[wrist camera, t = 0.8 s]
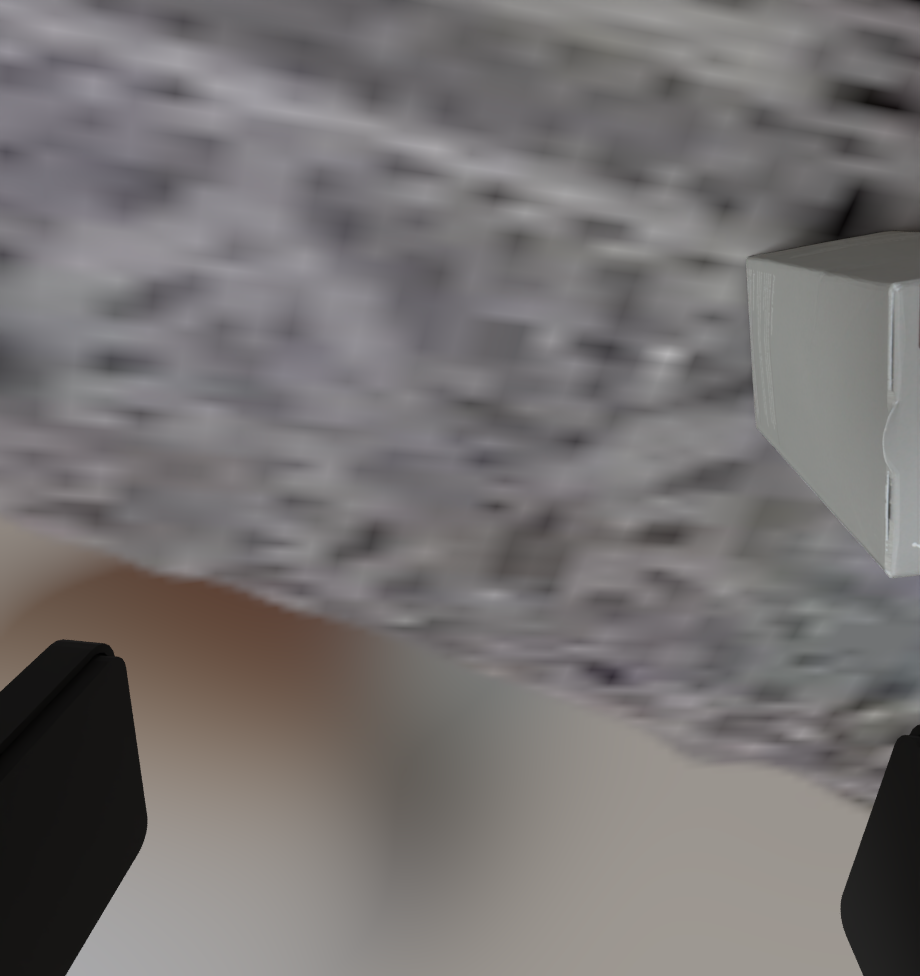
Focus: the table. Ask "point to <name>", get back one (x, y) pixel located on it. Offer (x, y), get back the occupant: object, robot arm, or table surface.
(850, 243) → the skincare box
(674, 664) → the table surface
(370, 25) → the table surface
